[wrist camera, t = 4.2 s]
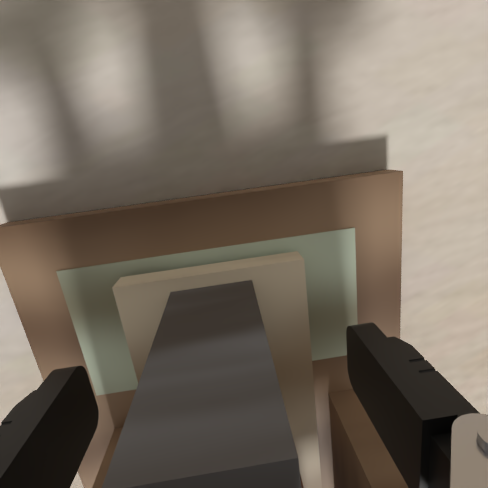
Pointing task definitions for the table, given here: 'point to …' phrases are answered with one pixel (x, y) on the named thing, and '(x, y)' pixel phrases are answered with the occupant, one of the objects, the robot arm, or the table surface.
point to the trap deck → (208, 252)
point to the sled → (219, 378)
